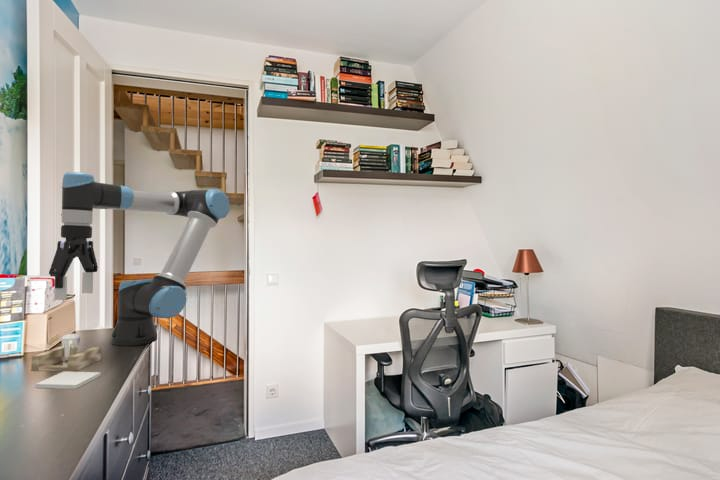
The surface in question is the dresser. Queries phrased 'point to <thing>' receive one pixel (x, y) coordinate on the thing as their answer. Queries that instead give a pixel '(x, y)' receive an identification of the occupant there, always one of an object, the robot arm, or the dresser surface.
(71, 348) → the milkshake
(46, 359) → the pocket holder
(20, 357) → the dresser surface
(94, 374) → the pad
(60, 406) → the dresser surface
